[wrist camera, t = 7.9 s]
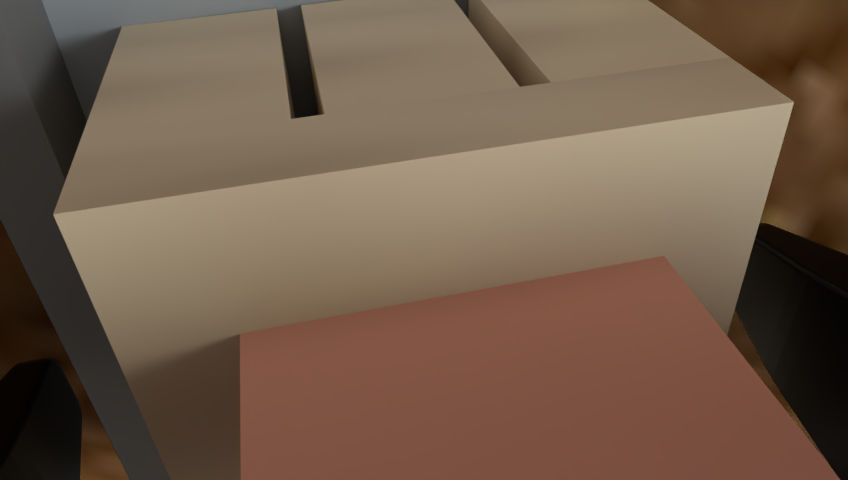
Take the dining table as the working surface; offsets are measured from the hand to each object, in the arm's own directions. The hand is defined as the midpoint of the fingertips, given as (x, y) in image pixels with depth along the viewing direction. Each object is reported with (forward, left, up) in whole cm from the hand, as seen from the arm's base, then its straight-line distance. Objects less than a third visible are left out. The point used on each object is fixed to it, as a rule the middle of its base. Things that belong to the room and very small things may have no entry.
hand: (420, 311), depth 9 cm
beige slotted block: (0, 0, -2) cm, 2 cm away
